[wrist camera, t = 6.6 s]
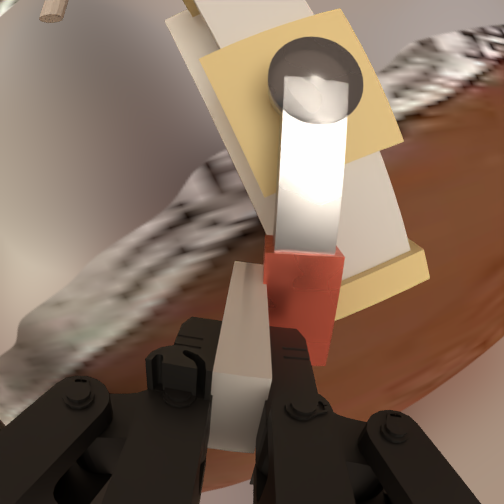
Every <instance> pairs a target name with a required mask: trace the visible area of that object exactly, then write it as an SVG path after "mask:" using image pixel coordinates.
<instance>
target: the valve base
mask: <svg viewBox="0 0 504 504" xmlns="http://www.w3.org/2000/svg"><path fill="white" fill-rule="evenodd" d="M183 2H184V4H185V5H186V7H187V10H185V11H183V12H181V13H179V14H176V15H174V16H172V17H171V18H169V19H167V20H165V23H166V25H167V27H168V29H169V31H170V33H171V35H172V37H173V39H174V41H175V43H176V45H177V47H178V49H179V51H180V53H181V55H182V57H183V59H184V61H185V63H186V65H187V67H188V69H189V71H190V73H191V75H192V77H193V80H194V82H195V84H196V86H197V88H198V90H199V92H200V94H201V96H202V98H203V100H204V102H205V104H206V106H207V108H208V110H209V113H210V115H211V117H212V119H213V121H214V123H215V125H216V127H217V129H218V131H219V134H220V135H221V137H222V140H223V142H224V144H225V146H226V148H227V150H228V153H229V155H230V157H231V159H232V161H233V163H234V165H235V167H236V170H237V172H238V174H239V176H240V178H241V180H242V182H243V185H244V187H245V189H246V191H247V193H248V195H249V198H250V200H251V202H252V204H253V206H254V208H255V211H256V213H257V215H258V217H259V219H260V222H261V224H262V226H263V228H264V230H265V232H266V235H273V229H274V214H275V198H276V182H277V165H278V147H279V128H280V116H279V115H278V113H277V112H276V111H275V110H274V108H273V106H272V104H271V102H270V100H269V96H268V87H267V86H268V71H269V66H270V63H271V61H272V58H273V57H274V55H275V54H276V52H277V51H278V50H279V49H280V48H281V47H282V46H284V45H285V44H287V43H288V42H290V41H292V40H295V39H298V38H302V37H321V38H325V39H329V40H331V41H334V42H336V43H338V44H339V45H341V46H342V47H344V48H345V49H346V50H347V51H348V52H349V53H351V55H352V56H353V57H354V58H355V60H356V61H357V63H358V65H359V67H360V69H361V72H362V76H363V93H362V97H361V100H360V102H359V104H358V106H357V107H356V109H355V110H354V111H353V112H352V113H351V114H350V115H349V116H347V133H346V149H345V163H344V176H343V187H342V198H341V208H340V217H339V226H338V235H337V243H336V245H337V247H338V248H339V250H340V251H341V252H342V254H343V255H344V257H345V261H344V268H343V274H342V281H341V287H340V293H339V299H338V304H337V310H336V315H335V321H336V320H338V319H341V318H343V317H346V316H348V315H351V314H353V313H355V312H358V311H360V310H362V309H365V308H367V307H369V306H372V305H374V304H376V303H378V302H381V301H383V300H385V299H387V298H389V297H392V296H394V295H396V294H398V293H400V292H403V291H405V290H407V289H409V288H411V287H413V286H415V285H417V284H419V283H421V282H423V281H425V280H427V279H430V277H429V272H428V267H427V262H426V257H425V253H424V249H422V248H421V247H420V246H418V245H417V244H415V243H414V242H412V241H411V240H410V239H408V238H407V235H406V231H405V227H404V224H403V220H402V217H401V213H400V210H399V207H398V204H397V200H396V197H395V194H394V191H393V188H392V185H391V182H390V179H389V176H388V173H387V170H386V167H385V165H384V162H383V159H382V156H381V154H380V150H383V149H385V148H388V147H391V146H393V145H396V144H399V143H401V142H404V141H403V138H402V135H401V132H400V130H399V127H398V125H397V122H396V120H395V117H394V115H393V112H392V110H391V107H390V105H389V102H388V100H387V98H386V96H385V93H384V91H383V89H382V87H381V84H380V82H379V80H378V78H377V76H376V74H375V72H374V69H373V68H372V66H371V63H370V61H369V59H368V57H367V55H366V54H365V52H364V50H363V48H362V46H361V44H360V42H359V40H358V39H357V36H356V35H355V33H354V31H353V29H352V27H351V26H350V24H349V22H348V21H347V19H346V17H345V16H344V14H343V12H342V11H341V9H335V10H331V11H327V12H324V13H320V14H316V15H314V14H313V12H312V10H311V9H310V7H309V5H308V4H307V2H306V1H305V0H183Z"/></svg>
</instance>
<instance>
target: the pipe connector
mask: <svg viewBox="0 0 504 504" xmlns="http://www.w3.org/2000/svg"><path fill="white" fill-rule="evenodd" d="M67 4H68V0H45V2H44V5H43V8H42V11H41V15H40V18H39V20H40V21H42V22H46V23H55V22H59V21H62V19H63V17H64V14H65V10H66V7H67Z"/></svg>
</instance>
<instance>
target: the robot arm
mask: <svg viewBox="0 0 504 504" xmlns="http://www.w3.org/2000/svg"><path fill="white" fill-rule="evenodd" d="M145 361H146V375H147V387H148V389H147V390H145V391H142V392H139V393H131V394H109V392H108V390H107V388H106V387H105V385H104V384H102V383H101V382H100V381H98V380H97V379H94V378H91V377H88V376H73V377H69V378H65V379H64V380H62V381H60V382H58V383H57V384H56V385H54V386H53V387H52V388H51V389H50V390H48V391H47V392H46V393H45V394H44V395H42V396H41V397H40V398H39V399H38V400H36V401H35V402H34V403H33V404H32V405H30V406H29V407H28V408H27V409H26V410H24V411H23V412H22V413H21V414H20V415H18V416H17V417H16V418H15V419H14V420H13V421H11V422H10V423H9V424H8V425H7V426H5V424H4V423H3V422H2V421H1V420H0V504H199V502H200V496H201V490H202V484H203V478H204V472H205V466H206V454H207V448H212V449H220V450H226V451H235V452H245V453H254V451H255V447H256V464H255V467H254V471H253V474H252V477H251V481H250V484H253V485H254V490H253V491H254V492H253V493H254V494H253V496H254V498H253V504H481V503H480V502H479V500H478V499H477V498H476V497H475V495H474V494H473V493H472V492H471V490H470V489H469V488H468V486H467V485H466V484H465V483H464V481H463V480H462V479H461V478H460V476H459V475H458V474H457V473H456V471H455V470H454V469H453V467H452V466H451V465H450V464H449V462H448V461H447V460H446V459H445V457H444V456H443V455H442V454H441V452H440V451H439V450H438V449H437V447H436V446H435V445H434V444H433V442H432V441H431V440H430V439H429V438H428V436H427V435H426V434H425V433H424V432H423V430H422V429H421V428H420V426H419V425H418V424H417V423H416V422H415V421H414V420H413V419H412V418H411V417H410V416H407V415H405V414H403V413H401V412H398V411H393V410H384V411H379V412H377V413H375V414H373V415H372V416H371V417H370V418H369V420H368V421H367V422H363V421H359V420H354V419H350V418H346V417H343V416H340V415H337V414H336V413H334V412H333V409H332V408H331V406H330V404H329V402H328V401H327V400H326V399H325V398H324V397H322V396H321V395H320V394H318V392H317V388H316V383H315V379H314V374H313V370H312V365H311V361H310V356H309V352H308V348H307V343H306V339H305V338H304V337H303V335H302V334H301V333H300V332H299V331H298V330H297V329H293V328H284V327H274V326H269V315H268V299H267V284H263V265H262V264H254V263H247V262H240V261H235V262H234V267H233V272H232V277H231V281H230V286H229V291H228V296H227V301H226V306H225V311H224V316H223V321H218V320H211V319H204V318H197V317H191V318H190V319H188V320H187V321H186V322H184V323H183V324H182V325H181V328H180V330H179V333H178V336H177V337H176V340H175V342H174V345H172V346H166V347H161V348H159V349H157V350H155V351H152V352H151V353H150V354H149V355H148V356H147V358H146V359H145Z"/></svg>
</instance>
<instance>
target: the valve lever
mask: <svg viewBox="0 0 504 504" xmlns="http://www.w3.org/2000/svg"><path fill="white" fill-rule="evenodd" d="M267 87H268V96H269V100H270V102H271V104H272V106H273V108H274V110H275V111H276V112H277V113H278V115H279V116H280V128H279V147H278V165H277V182H276V198H275V214H274V229H273V235H265V243H264V260H263V284H267V299H268V315H269V326H274V327H284V328H293V329H297V330H298V331H299V332H300V333H301V334H302V335H303V337H304V338H305V339H306V343H307V348H308V352H309V356H310V361H311V365H312V366H325V365H326V360H327V356H328V351H329V346H330V341H331V336H332V331H333V326H334V321H335V315H336V310H337V304H338V299H339V293H340V287H341V281H342V274H343V268H344V261H345V257H344V255H343V254H342V252H341V251H340V250H339V248H338V247H337V245H336V243H337V235H338V226H339V217H340V208H341V198H342V187H343V176H344V163H345V149H346V133H347V116H349V115H350V114H351V113H352V112H353V111H354V110H355V109H356V107H357V106H358V104H359V102H360V100H361V97H362V93H363V76H362V72H361V69H360V67H359V65H358V63H357V61H356V60H355V58H354V57H353V56H352V55H351V53H349V52H348V51H347V50H346V49H345V48H344V47H342V46H341V45H339V44H338V43H336V42H334V41H331V40H329V39H325V38H321V37H302V38H298V39H295V40H292V41H290V42H288V43H287V44H285V45H284V46H282V47H281V48H280V49H279V50H278V51H277V52H276V54H275V55H274V57H273V58H272V61H271V63H270V66H269V71H268V86H267Z"/></svg>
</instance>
